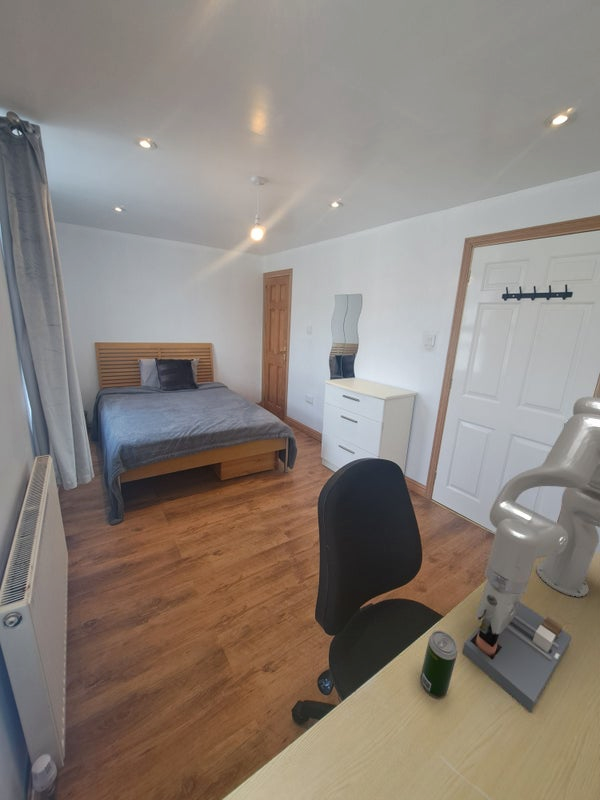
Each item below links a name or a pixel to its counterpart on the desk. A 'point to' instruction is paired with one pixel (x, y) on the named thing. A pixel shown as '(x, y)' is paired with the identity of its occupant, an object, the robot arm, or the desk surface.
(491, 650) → the push button
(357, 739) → the desk surface
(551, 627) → the rocker
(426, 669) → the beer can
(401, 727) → the desk surface
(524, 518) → the robot arm
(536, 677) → the console
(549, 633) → the slider knob
